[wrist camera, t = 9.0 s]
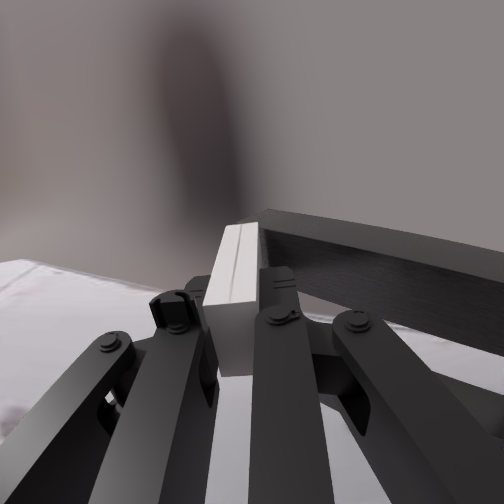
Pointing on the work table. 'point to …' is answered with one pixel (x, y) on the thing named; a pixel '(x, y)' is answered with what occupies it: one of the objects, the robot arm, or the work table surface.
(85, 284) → the work table surface
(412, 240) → the lid
